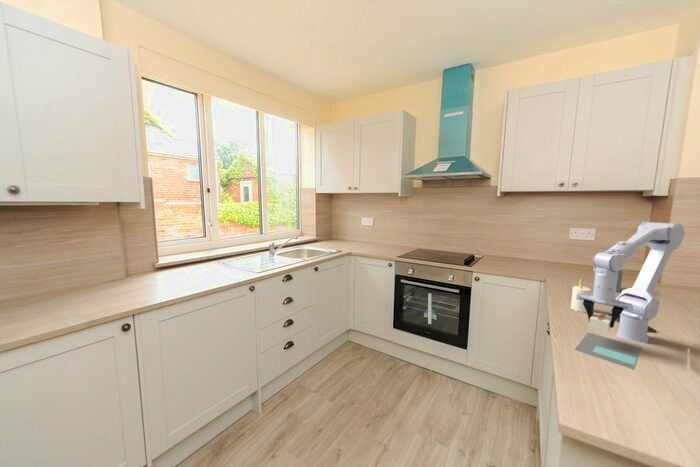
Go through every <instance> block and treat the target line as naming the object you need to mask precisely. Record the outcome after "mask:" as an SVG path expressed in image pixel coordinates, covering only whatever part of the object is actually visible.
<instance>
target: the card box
mask: <svg viewBox="0 0 700 467" xmlns="http://www.w3.org/2000/svg"><path fill="white" fill-rule="evenodd" d="M611 317H612V316H608V314H603V313H599V312H593V315H592V316H591V317H590V321H589V320H588V328H589V329H592V330H597V331H600V332H603V333H607V334H608V333H609V332H610V330H611V329H612V328H611V327H610V323H611Z"/></svg>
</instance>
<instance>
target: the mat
mask: <svg viewBox="0 0 700 467" xmlns="http://www.w3.org/2000/svg"><path fill="white" fill-rule="evenodd" d="M641 350H642V348H641V346H638V345H634V344H630V343H627V342H623V341H621V340H617V339H613V338H609V337H606V336H603V335H599V334H595V333H591V332H587V333H586V335H585V336H584V337H583V338H582V339H581V340H580V342H579V343H578V345H577V346H576V347H575V348H574V351H577V352H580V353H583V354H585V355H589V356H592V357H595V358H597V359H601V360H604V361H607V362H610V363H612V364H615V365H620V366H622V367H625V368H628V369H631V370H635V367H636V364H637V360H638V358H639V355H640V352H641Z"/></svg>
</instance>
